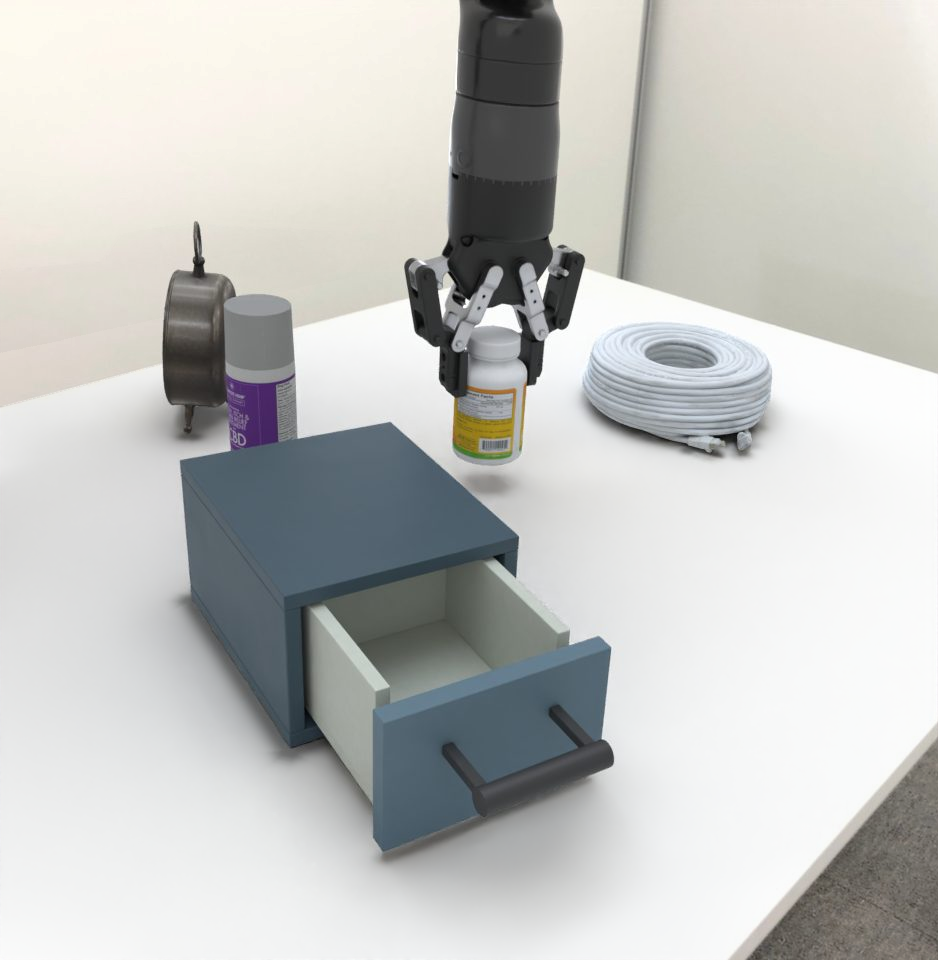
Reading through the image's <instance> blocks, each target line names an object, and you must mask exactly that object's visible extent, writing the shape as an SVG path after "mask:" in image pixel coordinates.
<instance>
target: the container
mask: <svg viewBox="0 0 938 960" xmlns="http://www.w3.org/2000/svg"><path fill="white" fill-rule="evenodd" d="M292 311H293V309H292V303H291V302H290V300H289V299H286V298H285V297H281V296H278V295H273V294H264V293H248V294H242V295H241V294H240V295H236V297H233V298H230V299H228V300H227V301H226V302H225V303H224V329H225V359H226V383H227V399H228V403H227V412H228V426H229V427H228V430H229V446H230V451H233V450H238V449H244V448H249V447H255V446H260V445H266V444H271V443H277V442H282V441H288V440H293V439H299V438H298V437H299V436H298V413H297V412H298V411H297V409H298V408H297V379H296V376H297V375H296V360H295V343H294V328H293V312H292Z"/></svg>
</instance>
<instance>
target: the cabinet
mask: <svg viewBox="0 0 938 960" xmlns="http://www.w3.org/2000/svg"><path fill="white" fill-rule="evenodd" d="M179 468H180V478H181V491H182V501H183V502H182V503H183V514H184V515H183V516H184V526H185V527H184V528H185V537H186V538H185V539H186V550H187V559H188V560H187V562H188V563H187V564H188V574H189V584H190V585H189V588H190V597H191V598H192V600H193V601H194V603H195V605H196V606H197V608H198V609H199V611H200V612H201V613H202V616H203V617H204V619H205V620H206V622H207V623H208V624H209V626H210V628H211V629H212V631H213V632H214V633H215V635H216V637H217V638H218V639H219V641H220V643H221V644H222V646H223V648H224V649H225V650H226V652H227V654H228V655H229V657H230V658H231V660H232V661H233V663H234V664H235V666H236V667H237V668H238V670H239V672H240V673H241V675H242V677H243V678H244V679H245V681H246V682H247V684H248V685H249V687H250V688H251V690H252V692H253V693H254V695H255V696H256V698H257V699H258V701H259V702H260V704H261V705H262V707H263V709H264V711H266V713H267V715H268V716H269V718H270V719H271V721H272V722H273V724H274V725H275V726H276V727H275V728H277V730H278V731H279V733H280V734H281V736H282V737H283V739H284V740H285V743H286V744H287V745H288V747H289V748H290V749H291V748H295V747H297V746H300V745H303V744H306V743H309V742H312V741H315V740H318V739H322V738H324V737H325V735H324V734H323V732H322V731H321V729H320V728H319V727H318V725H317V724H316V722H315V721H314V719H313V718H312V716H311V715H310V714H309V712H308V711H307V709H306V708H305V706H304V687H303V657H302V628H301V607H302V606H305V605H309V604H313V603H317V602H321V601H324V600H328V599H332V598H336V597H340V596H343V595H347V594H351V593H355V592H359V591H362V590H366V589H370V588H374V587H378V586H381V585H385V584H389V583H393V582H397V581H400V580H404V579H408V578H412V577H416V576H419V575H423V574H427V573H431V572H435V571H438V570H442V569H446V568H450V567H454V566H457V565H461V564H465V563H469V562H473V561H476V560H480V559H484V558H488V557H492V556H493V557H494V558H495V559H496V560H497V561H498V562H499V563H500V564H501V565H502V566H503V567H504V568H505V569H506V570H508V571H509V572H510V573H511V574H512V575H513V576H514V577H515V578H516V579H517V574H518V573H517V571H518V557H519V556H518V555H519V546H520V536H519V535H518V534H517V533H516V532H515V531H514V530H513V529H512V528H510V526H508V525H507V524H506V523H505V522H504V521H503V520H501V519H500V518H499V517H498V516H497V515H496V514H495V513H494V512H492V510H491V509H489V507H487V506H486V505H485V504H483V503H482V501H481V500H479V499H478V498H477V497H476V496H474V495H473V494H472V493H471V492H470V491H469V490H468V489H467V488H466V487H465V486H463V484H461V483H460V482H459V481H458V480H457V479H455V478H454V477H453V475H451V474H450V473H449V472H448V471H447V470H446V469H445V468H443V467H442V466H441V465H440V464H439V463H438V462H437V461H436V460H434V459H433V458H432V457H431V456H430V455H428V453H426V452H425V451H424V450H423V449H422V448H421V447H420V446H418V444H416V443H415V442H414V441H413V440H412V439H411V438H409V437H408V436H407V435H406V434H405V433H404V432H403V431H401V429H400V428H398V426H396V425H395V424H394V423H393V422H391V421H388V422H382V423H377V424H370V425H366V426H359V427H354V428H349V429H344V430H338V431H333V432H328V433H321V434H315V435H311V436H306V437H300V438H298V439H293V440H288V441H282V442H277V443H271V444H266V445H260V446H255V447H249V448H244V449H238V450H233V451H231V450H228V451H222V452H218V453H217V452H216V453H211V454H206V455H200V456H195V457H188V458H183V459H179ZM325 738H326V737H325Z"/></svg>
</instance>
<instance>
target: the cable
mask: <svg viewBox="0 0 938 960" xmlns="http://www.w3.org/2000/svg"><path fill="white" fill-rule="evenodd" d="M581 380H582V383H581V384H582V385H581V387H582V390H583V392H584V395H585V396H586V397H587V398H588V399H589V402H590V403H591V404H592V406H594V407H595V408H596V409H597V410H598V411H599V412H601V414H603V415H604V416H606V417H607V418H610V419H611V420H613V421H615V422H617V423H619V424H622V425H625V426H627V427H630V428H633V429H638V430H641V431H643V432H644V431H645V432H646V433H649V434H651V435H654V436H657V437H659V438H663V439H665V440H669V441H673V442H678V443H681V444H682V443H683V444H687V445H688V446H689V447H693V448H697V449H700V450H705V452H707V453H709V454H710V453H712V451H713V450H714V449H715V450H716V449H720V448H725V446H726V441H725V440H721V438H718V437H714V436H722V435H729V434H735V433H738V434H737V435H736V438H737V440H736V446H737V447H736V448H737V449H738V451H739V452H741V451H743V450H746V449H747V448H749V447H751V444H752V443H753V438H752V433H751V432H750V431H749V429H750V428H752V427H754V426H755V425H756V424H758V423H759V422H760V421H761V420H762V417H763V415H764V413H765V412H766V410H767V407H768V404H770V401H771V392H772V385H773V384H772V383H773V382H772V381H773V367H772V365H771V363H770V361H769V358H768V356H767V354H766V353H765V352H764V351H763V350H762V349H761V348H759V347H758V346H756V345H755V344H753V343H751V342H749V341H747V340H745V339H743V338H740V337H738V336H736V335H733V334H731V333H728V332H726V331H723V330H720V329H716V328H712V327H707V326H703V325H698V324H691V323H684V322H683V323H681V322H674V321H673V322H672V321H644V322H634V323H628V324H623V325H618V326H616V327H613V328H610V329H608V330H607V331H605V332H603V333H601V334H600V335H599V336H598V337H597V338H596V339H595V341H594V342H593V345H592V348H591V351H590V355H589V358H588V363H587V366H586V369H585V370H584V372H583V375H582V379H581Z"/></svg>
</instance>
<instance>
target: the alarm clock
mask: <svg viewBox="0 0 938 960" xmlns="http://www.w3.org/2000/svg"><path fill="white" fill-rule="evenodd" d="M192 230H193V231H192V238H193V252H194V255H193V257H192V263H193V269H192V270H185V269H183V270H182V269H176V270H174V271H173V272H172V273H171V277H170V278H169V282H168V286H167V290H166V297H165V303H164V309H163V310H164V311H163V320H162V321H163V322H162V323H163V324H162V342H161V343H162V346H161V347H162V348H161V353H162V355H161V356H162V359H161V360H162V380H163V381H162V382H163V390H164V394H165V398H166V400H167V402H168V403H169V404H170V405H171V406H184V422H185V426H184V427H183V432H184V433H186V434H190V433H191V432H192V431H193V427H192V422H193V418H194V416H195V415H194V414H195V409H196V407H200V408H219V407H222V405H223V404H225V403H227V404H228V399H227V383H226V359H225V329H224V303H225V302H226V301H227V300H228V299H230V298H233V297H236V296H237V292H236V289H235V286H234V283H233V282H232V280H231V279H230V278H229V277H228V276H226V275H224V274H223V273H217V272H216V273H215V272H206V271H205V266H204V265H205V263H206V259H205V257H204V256H202V255H203V243H202V241H203V240H202V234H201V227H200V223H199V221H197V220H195V221H194V222H193V229H192Z"/></svg>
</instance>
